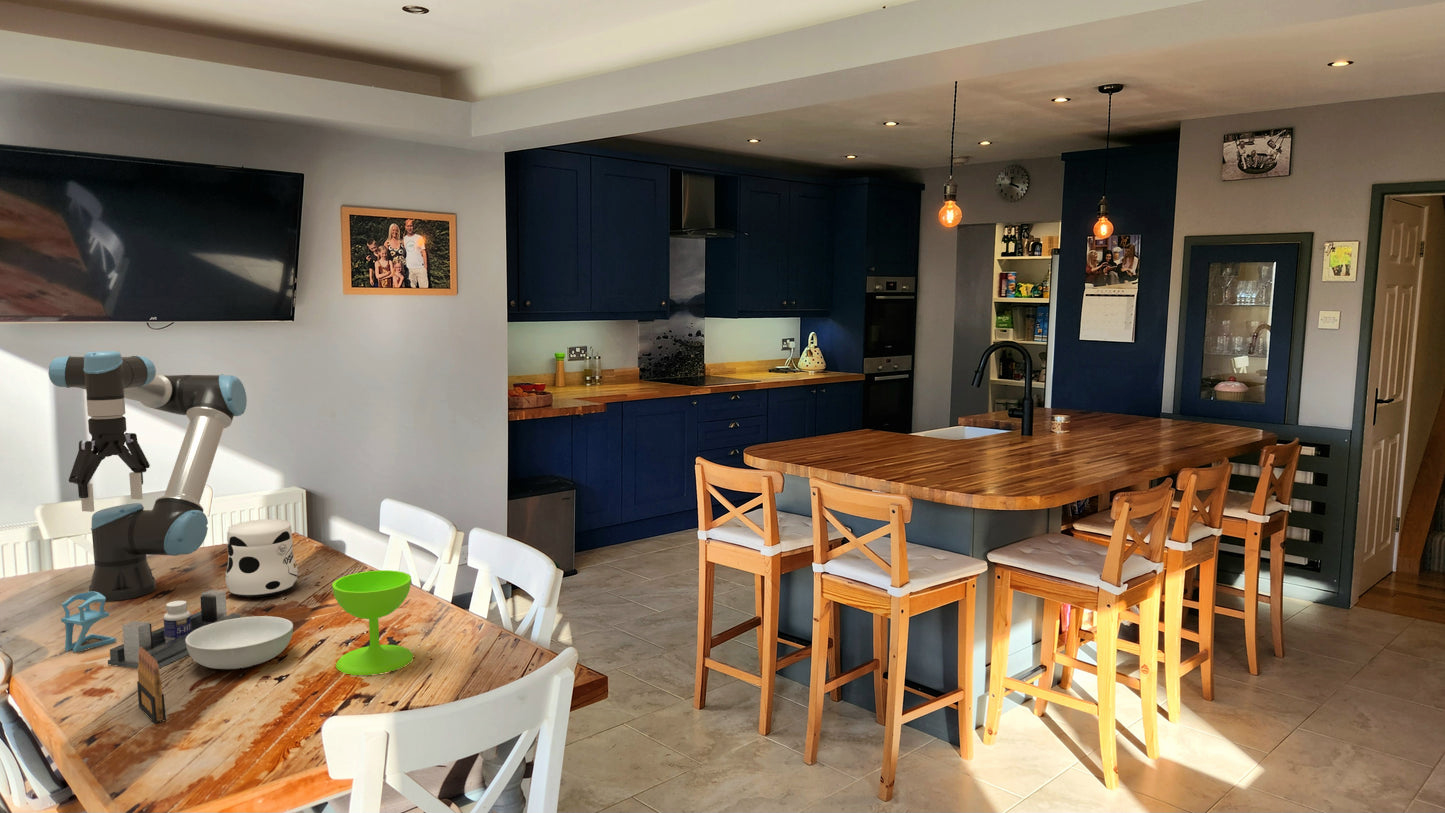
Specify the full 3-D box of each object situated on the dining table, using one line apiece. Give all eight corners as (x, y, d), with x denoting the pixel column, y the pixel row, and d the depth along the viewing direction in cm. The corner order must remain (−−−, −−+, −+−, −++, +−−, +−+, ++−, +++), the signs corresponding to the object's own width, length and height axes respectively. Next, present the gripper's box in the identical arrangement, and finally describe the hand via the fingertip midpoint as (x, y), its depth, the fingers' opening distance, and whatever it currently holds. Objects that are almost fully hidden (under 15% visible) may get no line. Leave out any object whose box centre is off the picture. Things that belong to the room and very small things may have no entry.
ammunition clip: (138, 706, 184) (134, 646, 183) (149, 703, 185) (145, 644, 184) (154, 723, 177) (150, 661, 175) (166, 720, 178) (161, 659, 176)
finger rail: (200, 624, 229) (198, 587, 228) (243, 628, 226) (241, 591, 225) (107, 664, 204) (104, 624, 203) (154, 670, 201) (151, 629, 200)
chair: (57, 650, 212) (52, 598, 211) (92, 637, 220) (88, 587, 219) (81, 654, 210) (77, 602, 208) (117, 641, 217) (112, 590, 216)
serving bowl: (315, 650, 213) (314, 620, 212) (240, 687, 193) (238, 654, 193) (242, 639, 220) (241, 610, 219) (163, 673, 200) (161, 641, 199)
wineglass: (339, 681, 196) (336, 597, 194) (332, 655, 210) (328, 576, 208) (420, 668, 203) (417, 586, 201) (407, 643, 217) (404, 566, 215)
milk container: (312, 589, 256) (308, 523, 254) (250, 606, 242) (247, 537, 240) (273, 578, 266) (270, 515, 264) (212, 594, 251) (208, 528, 249)
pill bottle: (179, 646, 212) (177, 607, 211) (159, 644, 213) (156, 606, 212) (197, 638, 217) (195, 600, 216) (177, 636, 218) (175, 598, 217)
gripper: (137, 409, 238) (143, 493, 240) (45, 423, 214) (52, 515, 216) (162, 410, 236) (168, 495, 239) (72, 424, 212) (79, 517, 214)
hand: (113, 505), depth 227 cm, fingers open, 13 cm apart
